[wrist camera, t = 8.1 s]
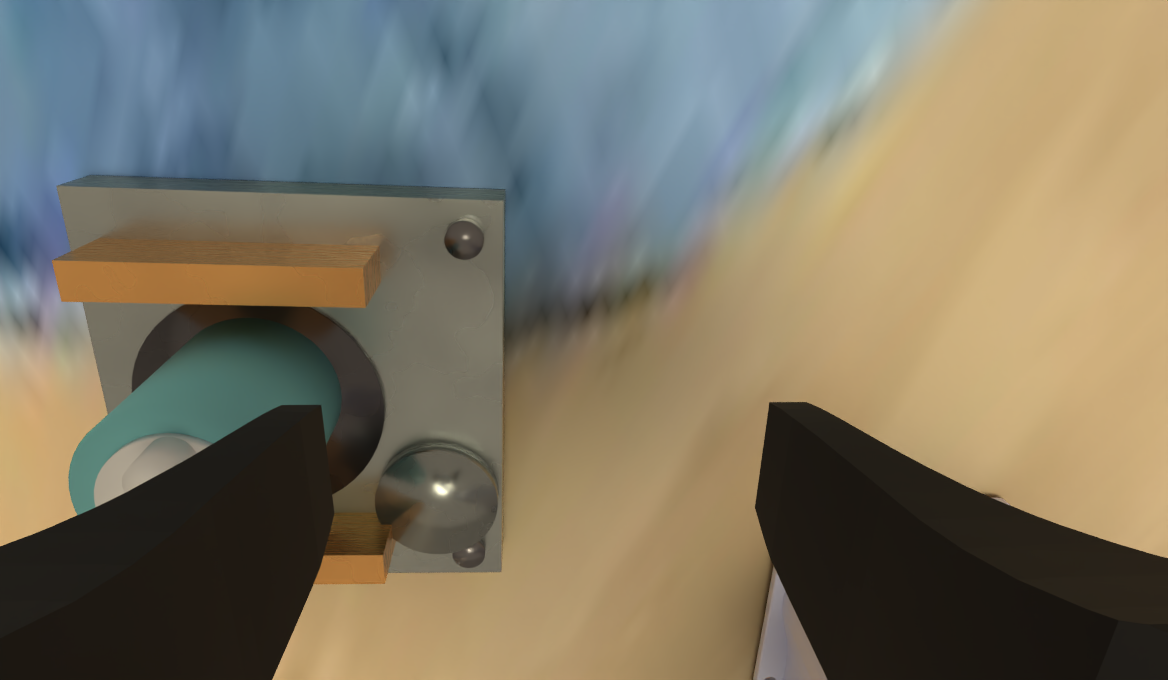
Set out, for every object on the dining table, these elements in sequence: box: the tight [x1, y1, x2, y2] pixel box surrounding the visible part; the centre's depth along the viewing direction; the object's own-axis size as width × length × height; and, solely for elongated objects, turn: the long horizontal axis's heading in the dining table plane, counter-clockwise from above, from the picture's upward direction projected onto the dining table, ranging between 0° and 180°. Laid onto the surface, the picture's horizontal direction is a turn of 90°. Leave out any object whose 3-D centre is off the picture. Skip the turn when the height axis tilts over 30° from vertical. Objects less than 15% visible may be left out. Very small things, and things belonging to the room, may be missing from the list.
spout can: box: [69, 318, 342, 515], centre depth 18 cm, size 4×4×6 cm
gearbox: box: [52, 175, 505, 584], centre depth 21 cm, size 12×11×4 cm
